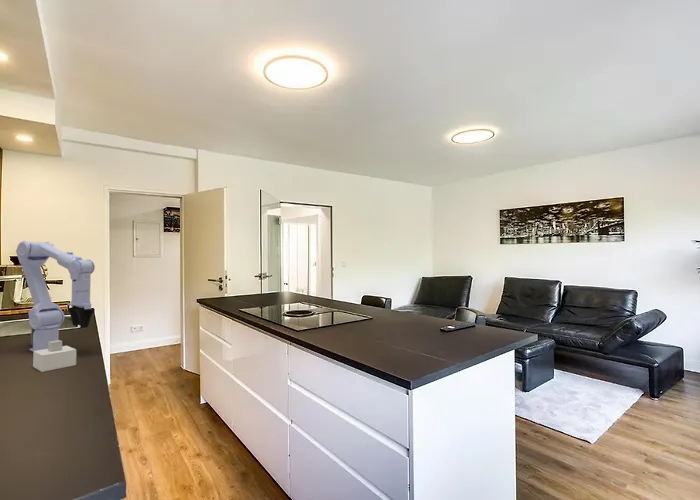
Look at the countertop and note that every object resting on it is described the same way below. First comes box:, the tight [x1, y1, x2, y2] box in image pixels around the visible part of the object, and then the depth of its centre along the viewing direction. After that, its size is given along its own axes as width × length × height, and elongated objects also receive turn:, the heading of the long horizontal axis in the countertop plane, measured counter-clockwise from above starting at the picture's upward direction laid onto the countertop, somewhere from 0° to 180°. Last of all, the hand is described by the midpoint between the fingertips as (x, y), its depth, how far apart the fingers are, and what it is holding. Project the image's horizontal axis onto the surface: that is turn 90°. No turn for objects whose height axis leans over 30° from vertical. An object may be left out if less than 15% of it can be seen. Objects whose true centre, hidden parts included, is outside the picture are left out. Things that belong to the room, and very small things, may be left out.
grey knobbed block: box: [32, 339, 77, 373], centre depth 122 cm, size 9×9×8 cm
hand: (80, 326), depth 137 cm, fingers open, 7 cm apart
